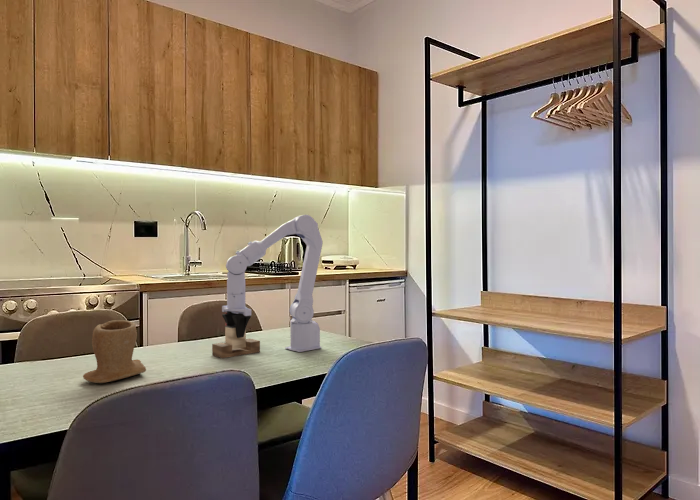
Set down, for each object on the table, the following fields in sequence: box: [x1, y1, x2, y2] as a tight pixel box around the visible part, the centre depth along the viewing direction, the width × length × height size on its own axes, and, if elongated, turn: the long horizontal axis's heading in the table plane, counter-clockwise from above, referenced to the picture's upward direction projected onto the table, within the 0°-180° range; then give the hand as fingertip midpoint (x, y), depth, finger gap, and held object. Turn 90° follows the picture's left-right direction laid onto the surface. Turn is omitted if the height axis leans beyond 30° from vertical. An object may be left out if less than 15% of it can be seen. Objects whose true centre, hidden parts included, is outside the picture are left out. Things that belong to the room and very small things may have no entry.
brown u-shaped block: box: [211, 338, 261, 359], centre depth 161 cm, size 14×6×4 cm, turn 133°
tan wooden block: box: [224, 324, 247, 349], centre depth 160 cm, size 5×4×7 cm
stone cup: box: [82, 319, 147, 384], centre depth 130 cm, size 15×12×15 cm
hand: (236, 336), depth 161 cm, fingers closed on tan wooden block, 4 cm apart
